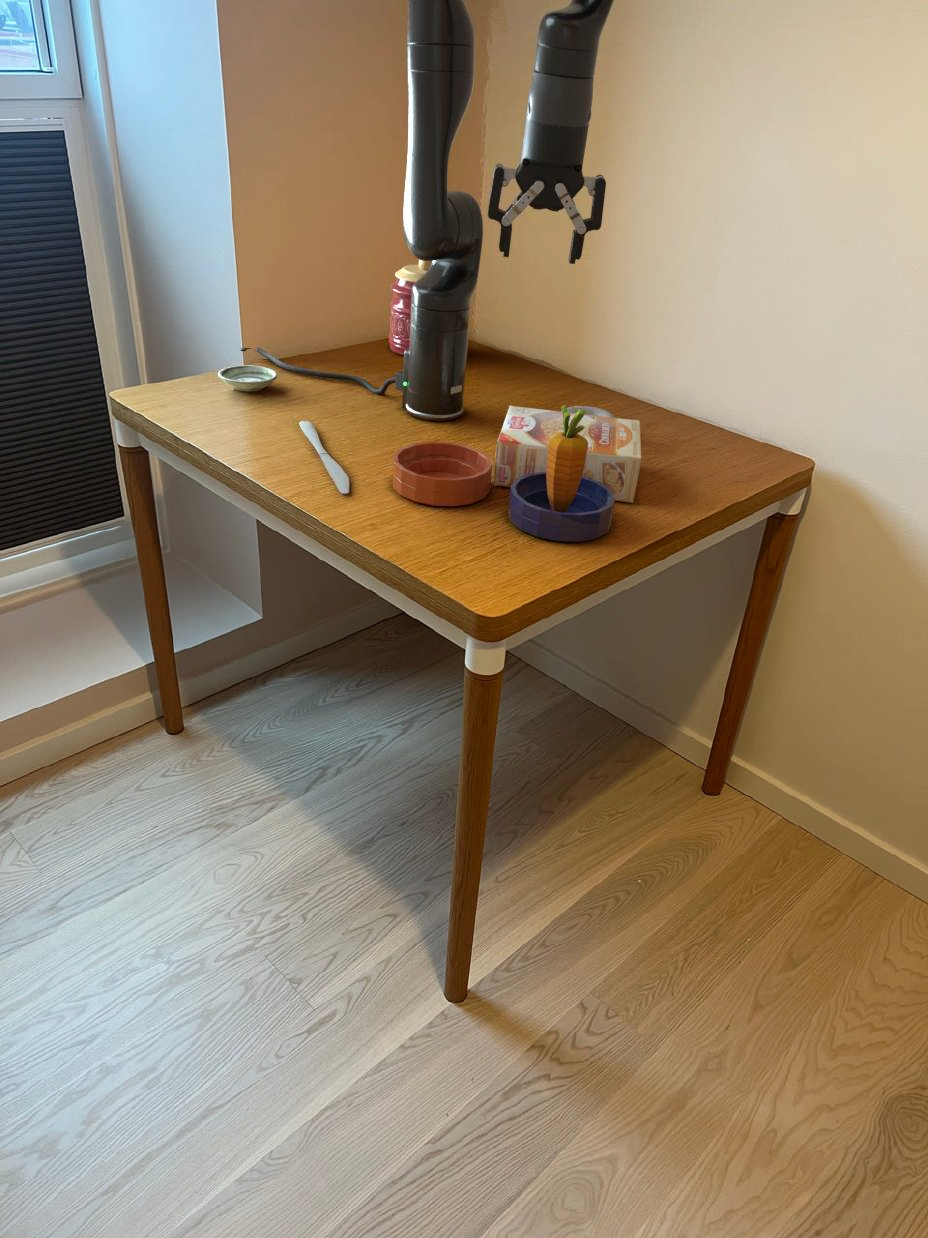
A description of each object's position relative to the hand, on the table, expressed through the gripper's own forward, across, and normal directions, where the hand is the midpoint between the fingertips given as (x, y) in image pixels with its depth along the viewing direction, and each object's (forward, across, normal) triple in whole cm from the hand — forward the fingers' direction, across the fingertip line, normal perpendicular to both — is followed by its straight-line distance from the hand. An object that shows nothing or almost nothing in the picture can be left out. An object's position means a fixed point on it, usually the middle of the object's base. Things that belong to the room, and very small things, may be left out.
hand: (538, 258), depth 118 cm
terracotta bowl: (+28, +10, +12) cm, 32 cm away
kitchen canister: (+34, +17, -54) cm, 66 cm away
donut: (+30, -12, -14) cm, 35 cm away
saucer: (+32, +44, -24) cm, 60 cm away
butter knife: (+29, +27, +4) cm, 40 cm away
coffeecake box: (+24, -18, +5) cm, 31 cm away
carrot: (+27, -6, +19) cm, 34 cm away
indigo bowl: (+27, -6, +19) cm, 34 cm away
